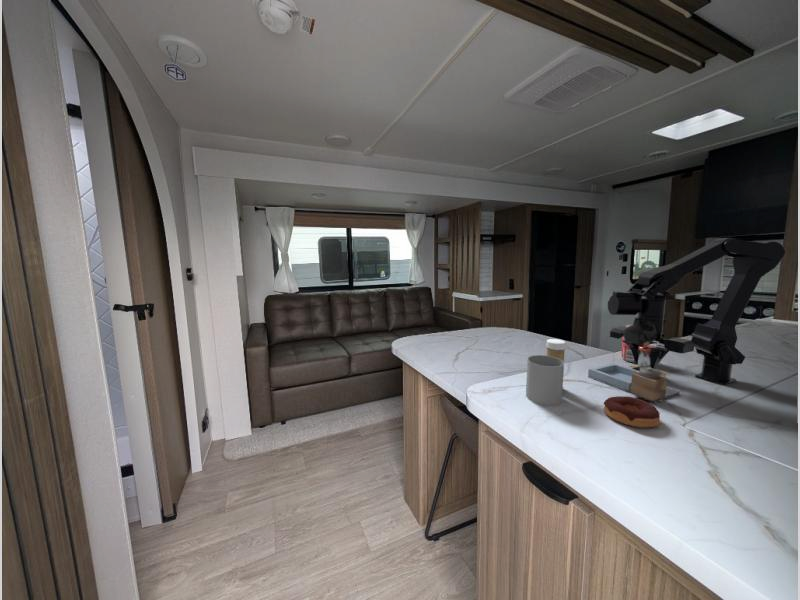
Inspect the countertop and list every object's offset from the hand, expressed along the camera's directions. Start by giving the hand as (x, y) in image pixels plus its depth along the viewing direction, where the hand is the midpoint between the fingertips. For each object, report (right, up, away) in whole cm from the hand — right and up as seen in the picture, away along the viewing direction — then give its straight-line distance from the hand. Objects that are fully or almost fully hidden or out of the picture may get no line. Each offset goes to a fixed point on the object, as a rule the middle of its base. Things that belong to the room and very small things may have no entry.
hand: (645, 366), depth 88 cm
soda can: (+7, -1, +13) cm, 15 cm away
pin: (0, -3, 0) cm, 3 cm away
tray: (-9, -4, -2) cm, 10 cm away
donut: (-21, -7, -21) cm, 31 cm away
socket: (0, -3, 0) cm, 3 cm away
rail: (-6, -5, -11) cm, 13 cm away
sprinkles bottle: (-30, -5, -6) cm, 31 cm away
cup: (-36, -6, -11) cm, 38 cm away
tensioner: (-10, -5, -13) cm, 17 cm away
